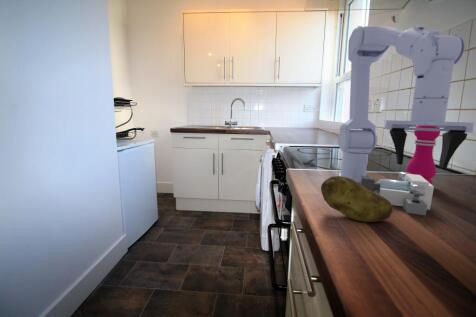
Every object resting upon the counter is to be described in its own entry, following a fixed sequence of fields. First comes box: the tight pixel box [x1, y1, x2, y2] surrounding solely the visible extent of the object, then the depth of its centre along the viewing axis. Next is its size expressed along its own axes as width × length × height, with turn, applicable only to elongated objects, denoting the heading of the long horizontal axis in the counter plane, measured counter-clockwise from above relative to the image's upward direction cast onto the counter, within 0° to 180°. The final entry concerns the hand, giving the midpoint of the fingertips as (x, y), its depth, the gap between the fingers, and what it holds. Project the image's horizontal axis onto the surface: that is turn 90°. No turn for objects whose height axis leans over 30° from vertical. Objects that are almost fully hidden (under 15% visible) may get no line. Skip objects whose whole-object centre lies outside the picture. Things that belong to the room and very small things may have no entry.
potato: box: [320, 175, 393, 223], centre depth 51 cm, size 8×13×8 cm, turn 52°
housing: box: [374, 174, 435, 216], centre depth 61 cm, size 15×10×6 cm, turn 158°
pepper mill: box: [405, 125, 441, 185], centre depth 74 cm, size 7×7×20 cm
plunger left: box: [397, 171, 411, 181], centre depth 66 cm, size 3×3×4 cm
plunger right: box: [409, 184, 426, 203], centre depth 55 cm, size 3×3×4 cm
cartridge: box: [359, 175, 411, 194], centre depth 62 cm, size 4×12×5 cm, turn 68°
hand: (420, 165), depth 54 cm, fingers open, 7 cm apart
